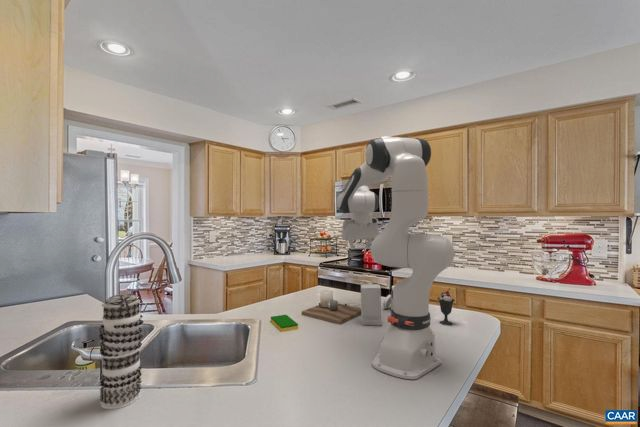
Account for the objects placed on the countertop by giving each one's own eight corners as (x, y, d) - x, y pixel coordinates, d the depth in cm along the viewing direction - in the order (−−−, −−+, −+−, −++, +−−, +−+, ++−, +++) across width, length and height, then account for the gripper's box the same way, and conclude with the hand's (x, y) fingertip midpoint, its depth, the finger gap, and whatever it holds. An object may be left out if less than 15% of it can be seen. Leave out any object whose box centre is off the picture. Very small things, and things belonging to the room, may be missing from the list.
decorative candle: (150, 388, 82) (150, 291, 82) (129, 409, 73) (130, 301, 73) (114, 388, 82) (114, 291, 82) (89, 410, 73) (89, 301, 73)
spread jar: (408, 315, 142) (408, 289, 142) (382, 314, 145) (382, 288, 145) (406, 308, 154) (406, 284, 154) (383, 306, 156) (383, 282, 156)
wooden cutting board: (340, 324, 130) (340, 318, 130) (301, 314, 143) (301, 309, 143) (365, 312, 147) (365, 306, 147) (328, 304, 160) (328, 299, 160)
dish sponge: (281, 333, 122) (281, 326, 122) (270, 322, 134) (270, 316, 134) (298, 330, 125) (298, 324, 125) (286, 319, 138) (286, 314, 138)
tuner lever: (341, 309, 145) (341, 294, 145) (330, 311, 142) (330, 296, 142) (328, 303, 155) (328, 289, 155) (318, 304, 152) (318, 291, 152)
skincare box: (380, 320, 135) (380, 284, 135) (381, 326, 129) (381, 287, 129) (360, 320, 136) (360, 283, 136) (360, 325, 130) (361, 287, 130)
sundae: (452, 327, 128) (452, 289, 128) (435, 323, 132) (435, 287, 132) (456, 322, 133) (456, 286, 133) (440, 319, 137) (440, 284, 137)
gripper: (347, 219, 143) (347, 250, 143) (380, 219, 154) (380, 248, 154) (339, 219, 149) (338, 249, 149) (371, 219, 160) (371, 247, 160)
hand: (360, 248), depth 152 cm, fingers open, 8 cm apart
